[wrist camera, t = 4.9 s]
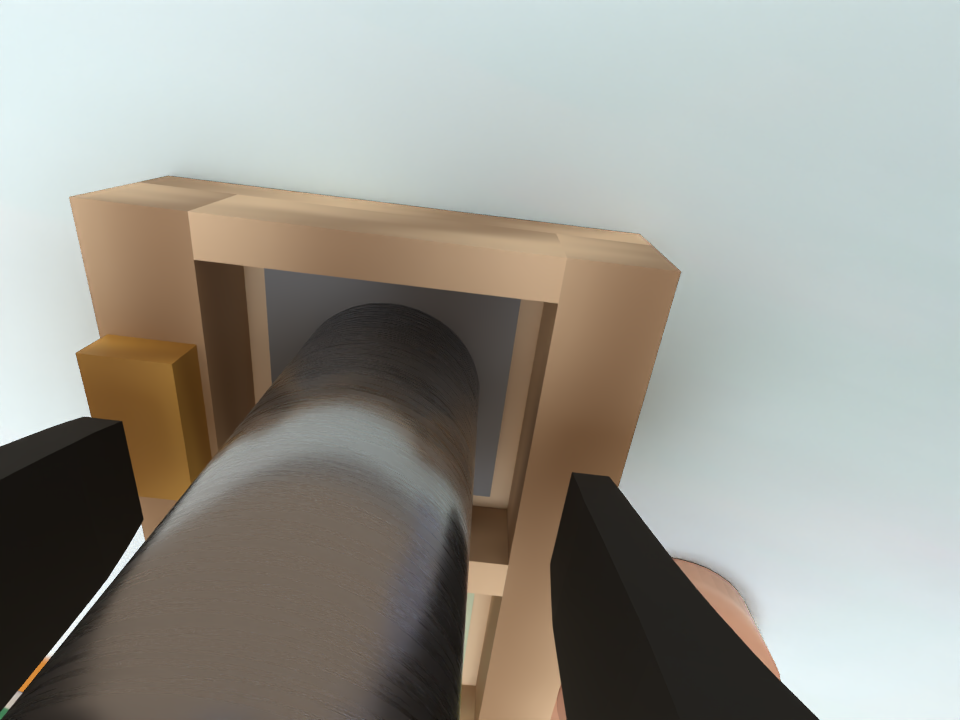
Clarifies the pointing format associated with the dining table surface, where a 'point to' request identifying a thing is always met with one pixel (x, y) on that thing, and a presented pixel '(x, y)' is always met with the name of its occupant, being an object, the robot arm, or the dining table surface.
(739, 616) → the dish
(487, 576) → the board
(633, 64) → the dining table surface
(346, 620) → the cell
